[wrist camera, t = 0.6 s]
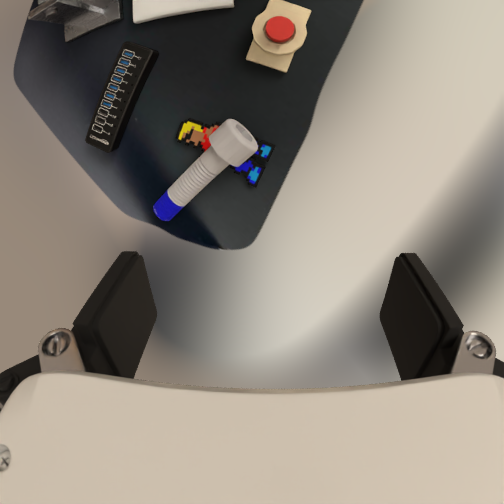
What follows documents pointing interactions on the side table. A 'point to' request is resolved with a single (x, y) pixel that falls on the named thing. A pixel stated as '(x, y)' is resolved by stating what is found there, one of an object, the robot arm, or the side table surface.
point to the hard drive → (173, 8)
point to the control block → (278, 52)
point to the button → (279, 29)
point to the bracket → (79, 15)
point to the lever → (41, 2)
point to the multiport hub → (120, 95)
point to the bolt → (208, 167)
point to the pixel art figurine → (199, 137)
